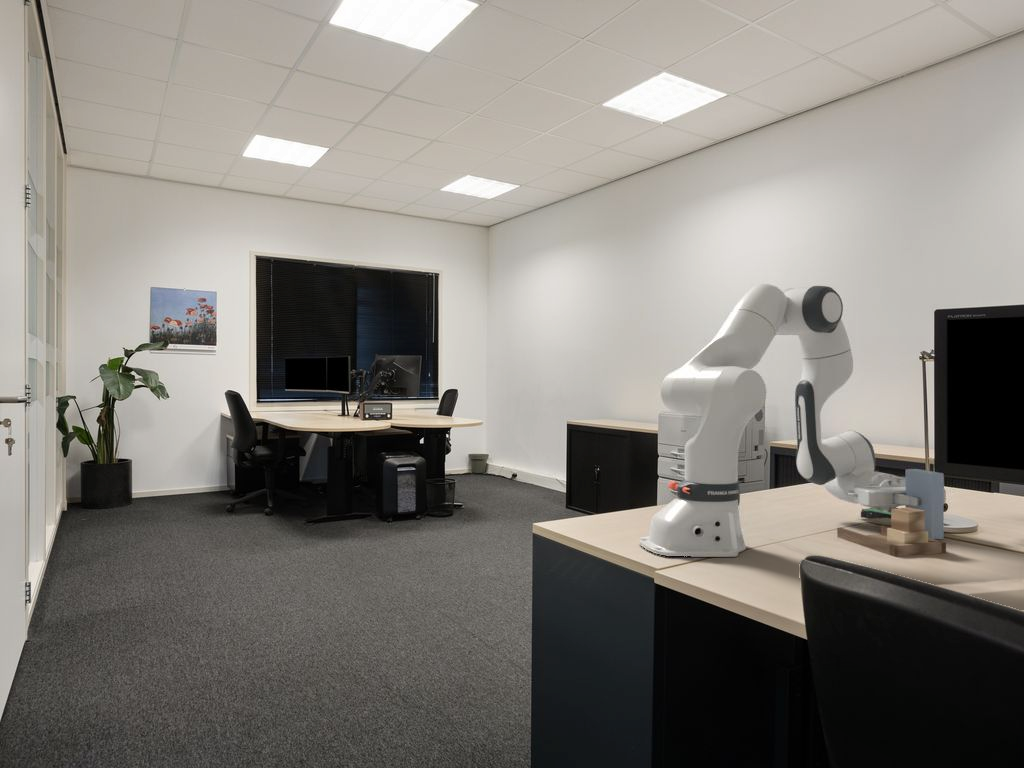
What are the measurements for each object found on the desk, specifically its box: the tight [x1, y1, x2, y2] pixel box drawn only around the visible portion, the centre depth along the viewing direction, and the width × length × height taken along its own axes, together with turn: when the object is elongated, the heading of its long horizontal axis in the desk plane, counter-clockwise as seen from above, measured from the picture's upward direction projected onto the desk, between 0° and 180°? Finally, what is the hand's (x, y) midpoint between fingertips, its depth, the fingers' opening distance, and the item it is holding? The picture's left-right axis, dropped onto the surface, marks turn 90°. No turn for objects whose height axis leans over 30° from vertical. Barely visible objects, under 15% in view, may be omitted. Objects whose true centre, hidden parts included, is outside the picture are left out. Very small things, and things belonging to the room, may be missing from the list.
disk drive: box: [860, 507, 898, 520], centre depth 164 cm, size 10×3×15 cm
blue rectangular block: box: [904, 468, 945, 540], centre depth 140 cm, size 3×7×14 cm, turn 11°
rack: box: [836, 524, 947, 557], centre depth 134 cm, size 12×16×4 cm
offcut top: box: [890, 507, 925, 533], centre depth 130 cm, size 4×4×4 cm
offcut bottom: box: [887, 528, 928, 544], centre depth 130 cm, size 6×4×4 cm
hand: (927, 501), depth 140 cm, fingers closed on blue rectangular block, 3 cm apart
